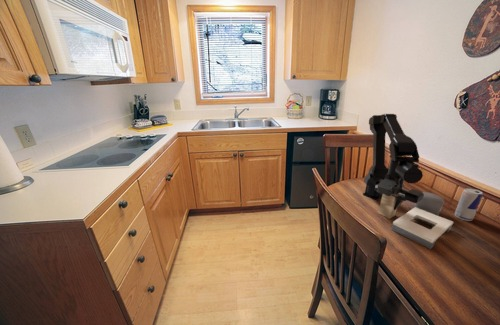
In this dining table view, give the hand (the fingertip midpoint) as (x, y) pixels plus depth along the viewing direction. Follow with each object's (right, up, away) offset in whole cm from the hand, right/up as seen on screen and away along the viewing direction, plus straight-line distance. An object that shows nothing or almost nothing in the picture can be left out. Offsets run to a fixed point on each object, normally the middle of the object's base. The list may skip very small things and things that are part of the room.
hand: (388, 207), depth 86 cm
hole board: (+6, -7, -8) cm, 12 cm away
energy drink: (+29, -4, -2) cm, 29 cm away
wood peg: (0, -3, +1) cm, 4 cm away
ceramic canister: (+18, -2, +3) cm, 18 cm away
